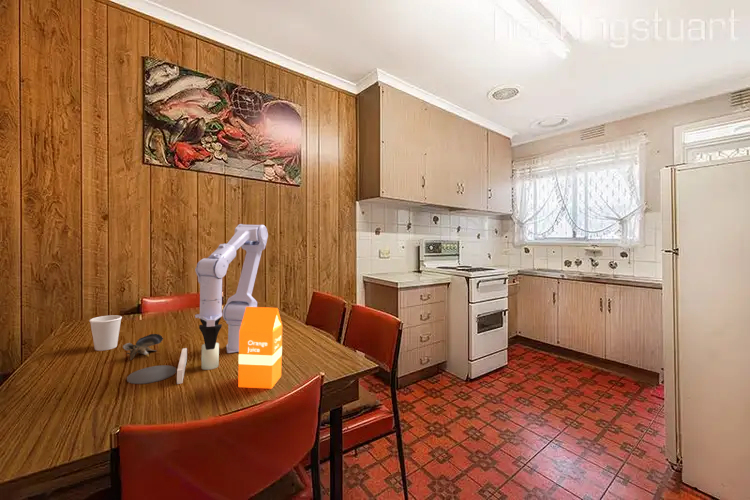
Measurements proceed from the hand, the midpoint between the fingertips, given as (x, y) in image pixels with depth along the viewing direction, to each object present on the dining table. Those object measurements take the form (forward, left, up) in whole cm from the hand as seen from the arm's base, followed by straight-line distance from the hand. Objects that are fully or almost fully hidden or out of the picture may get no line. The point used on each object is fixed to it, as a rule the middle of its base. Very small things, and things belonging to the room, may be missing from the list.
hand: (210, 344), depth 92 cm
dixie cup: (+31, -31, -7) cm, 44 cm away
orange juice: (-12, +16, -7) cm, 21 cm away
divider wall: (+7, 0, -7) cm, 9 cm away
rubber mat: (+14, 0, -7) cm, 15 cm away
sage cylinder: (0, 0, -7) cm, 7 cm away
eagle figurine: (+19, -18, -7) cm, 27 cm away
